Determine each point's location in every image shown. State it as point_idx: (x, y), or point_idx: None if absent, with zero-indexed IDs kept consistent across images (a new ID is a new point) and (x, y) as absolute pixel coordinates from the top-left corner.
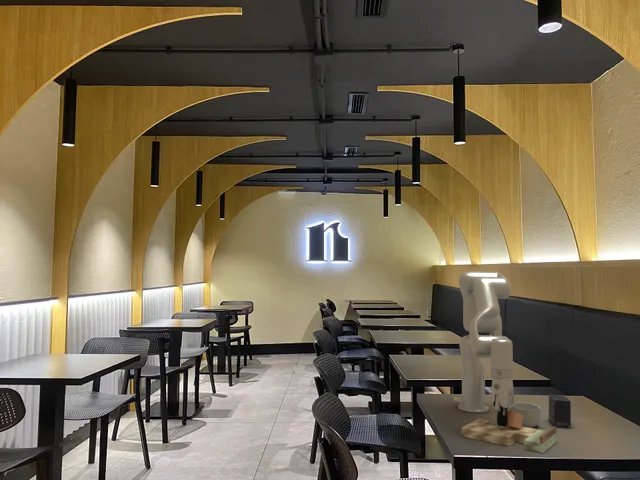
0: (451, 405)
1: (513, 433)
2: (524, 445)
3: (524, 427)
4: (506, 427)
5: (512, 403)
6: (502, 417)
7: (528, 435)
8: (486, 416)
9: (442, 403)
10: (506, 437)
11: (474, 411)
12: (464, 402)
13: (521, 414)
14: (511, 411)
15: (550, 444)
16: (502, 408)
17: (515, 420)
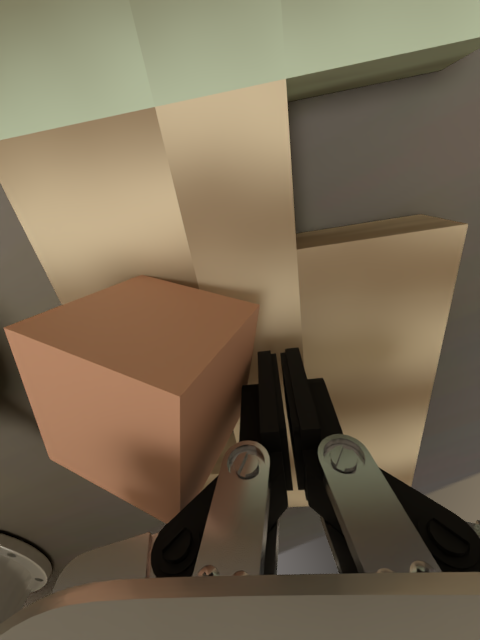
0: (37, 594)
1: (316, 255)
2: (462, 55)
3: (65, 277)
4: None
5: (106, 632)
6: (339, 430)
7: (280, 102)
8: (13, 506)
9: None
10: (458, 248)
11: (23, 548)
12: (16, 606)
13: (38, 339)
14: (182, 448)
15: None
16: (426, 570)
17: (206, 325)
